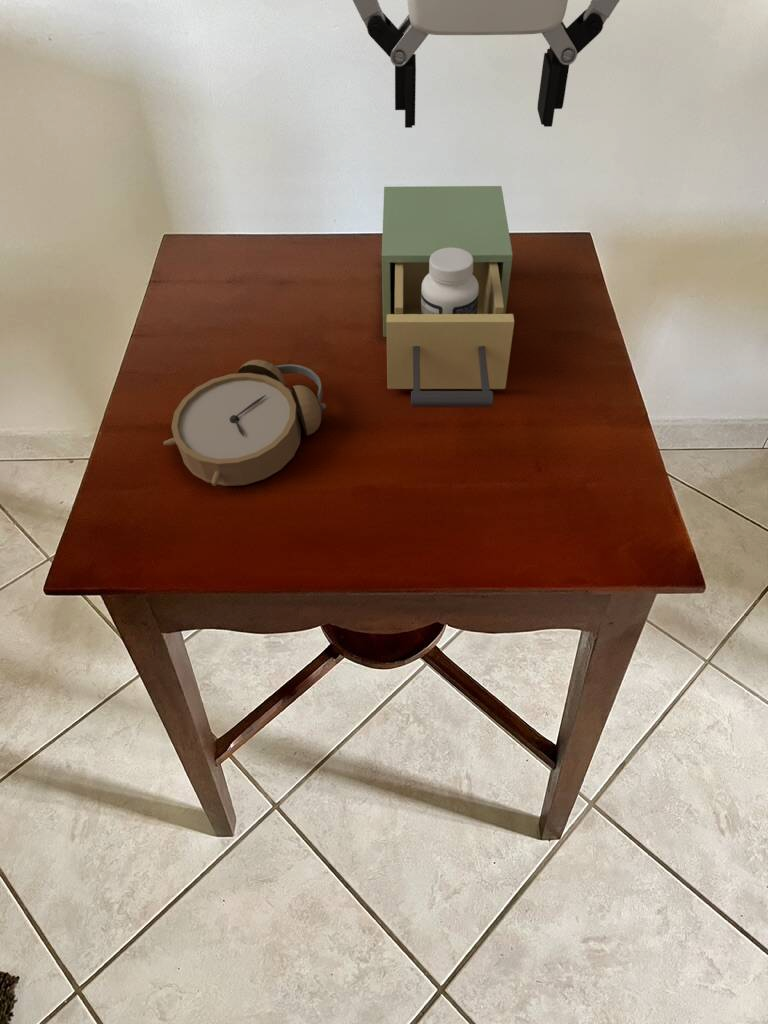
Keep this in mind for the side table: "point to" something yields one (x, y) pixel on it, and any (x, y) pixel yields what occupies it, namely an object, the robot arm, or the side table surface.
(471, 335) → the drawer
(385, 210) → the cabinet
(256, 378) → the alarm clock
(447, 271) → the pill bottle
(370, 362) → the side table surface
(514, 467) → the side table surface
